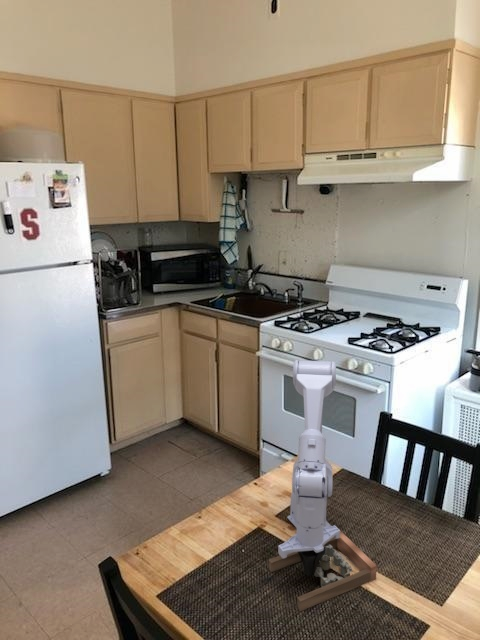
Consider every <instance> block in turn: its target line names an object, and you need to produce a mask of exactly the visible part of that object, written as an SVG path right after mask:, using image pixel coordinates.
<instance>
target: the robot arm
mask: <svg viewBox="0 0 480 640" xmlns="http://www.w3.org/2000/svg"><path fill="white" fill-rule="evenodd" d="M292 366H293V367H292V383H293V387H294V389H295V390H296V392H297V393H298V394H299V395H300V396H302V397H303V409H304V410H303V413H304V415H303V416H304V431H303V432H302V433H301V434H300V435H299V437H298V452H297V460H295V461H294V463H293V465H292V466H293V468H292V475H291V476H292V477H291V480H292V481H291V493H290V509H289V510H290V513H289V514H290V515H287V519H288V521H290V522H291V524H292V525H293V526H294V528H296V533H295V534H293V535H292V536H291V537H290V538H289V539H287V540H286V541H284V542H283V543H281V544H279V545H278V546H277V550H278V552H277V553H278V556H281V557H282V558H283V559H284V558H286V557H287V555H288V554H291V553H293V552H298V554H299V556H300V558H301V561H300V562H301V563H302V568H303V572H304V573H305V574H306V576H307V577H308V578H312V577H314V576H315V575H314V574H315V571H316V568H317V567H319V566H318V565H319V564H320V560H321V558H322V557H323V555H324V554H325V550H326V549H325V547H324V546H323V545H325V544H326V543H327V542H328V541H329V540H330V539H332V538H335V539H338V538H340V531H341V530H340V529H339V528H338V527H337V526H336V525H333V526H332V524H330V523H329V521H327V501H328V498H330V497H331V496H332V495H333V478H334V477H333V466H332V464H331V463H330V462H329V461H328V460H326V441H327V440H326V436H325V435H324V434H323V407H324V399H325V398H326V397H328V396H329V395H330V394H332V392H334V390H335V386H336V384H337V383H336V381H337V380H336V379H337V363H336V362H335V361H334V360H331V361H330V360H329V361H327V360H303V359H302V360H299V359H295V361H294V362H293V365H292Z"/></svg>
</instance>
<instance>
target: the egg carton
mask: <svg viewBox="0 0 480 640" xmlns="http://www.w3.org/2000/svg"><path fill="white" fill-rule="evenodd" d="M323 546H324V545H323ZM324 547H325V549H326V550H325V554H324V555H323V557H322V558H321V560H320V561H319V566H317V568H316V571H315V574H314V576H315V577H318V578H320V586H321V587H323V586H326V585H328V584H331V583H333V582H335V581H338V580H340V579H343V578H345V577H348V576H350V575H351V573H353V572H354V571H353V568H352V566H351V565H350V563H349V562H348V561H347V560H346V559H345V558H343V556H342V555H341V553H339V551H337V550H336V549H335V548H334V549H333V547H332V545H330V544H329V545H328V546H324ZM331 558H332V564H333V565H334V566H335V567H339V573H340V575H341V576H339V575H338V576H337V575H336V573H334V572H329V573H327V574H326V577H324V574H325V573H324V571H328V570H330V568H331Z"/></svg>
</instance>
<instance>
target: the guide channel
mask: <svg viewBox="0 0 480 640" xmlns="http://www.w3.org/2000/svg"><path fill="white" fill-rule="evenodd" d="M329 544H330V545H332V547H333V549H334V550H335V549H336V548H337V549H338V550H339V551H340V552H341V553H342V554H343V555H344V556H345V557H346V558H347V559H348V560H349V561H350V562H351V563H352V564H353V565H354V566H355V568H356V569H358V572H355V573H353V574H350V576H348V577H345V578H344V577H343V579H340V580H338V581H335V582H333V583H331V584H328V585H326V586H323V587H322V586H321V587H319V588H317V589H314V590H312V591H309V592H306V593H304V594H302V595H299V596H297V597H296V607H297V609H298V611H299V612H302V611H305V610H306V609H310V608H312V607H314V606H316V605H318V604H320V603H321V604H322V603H323V602H326V601H328V600H330V599H332V598H335V597H337V596H340V595H342V594H344V593H347V592H349V591H351V590H354V589H357V588H359V587H361V586H363V585H365V584H368V583H371V582H372V581H374V580H377V567H378V566H377V565H376V563H375V562H373V561H372V560H371V558H370V557H368V556H367V555H366V554H365V553H364V552H363V550H361V549H360V548H359V546H357V545H356V544H355V543H354V542H353V541H352V540H351V539H350V538H349V537H347V536H346V535H345V533H343V532H342V530H340V538H338V539H335V538H332V539H330V540H329V541H328V542H327V543H326V544H325V545H324V546H328V545H329ZM267 561H268V571H269V572H270V573H274V572H276V571H279V570H281V569H284V568H287V567H289V566H292V565H294V564H297V563H299V562H302V561H301V558H300V556H299V554H298V552H293V553H291V554H288V555H287V557H286V558H284V559H283V558H282V557H281V556H280V555H277V556H275V557H271V558H269V559H268V560H267Z"/></svg>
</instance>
